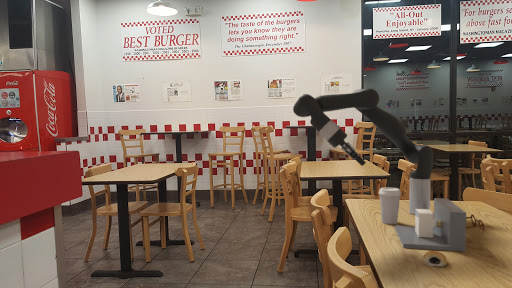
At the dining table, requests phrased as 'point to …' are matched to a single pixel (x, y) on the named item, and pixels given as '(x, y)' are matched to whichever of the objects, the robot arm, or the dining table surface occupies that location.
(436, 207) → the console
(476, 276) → the dining table surface
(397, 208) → the coffee cup
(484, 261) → the dining table surface
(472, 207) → the dining table surface
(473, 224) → the glasses
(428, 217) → the white box
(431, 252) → the pastry
